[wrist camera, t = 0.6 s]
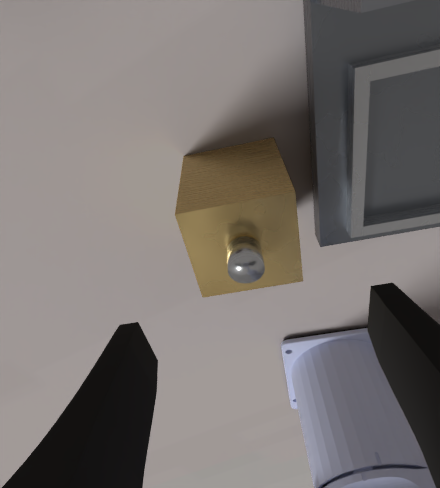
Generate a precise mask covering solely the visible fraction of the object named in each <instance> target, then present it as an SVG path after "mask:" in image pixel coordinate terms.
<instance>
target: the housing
mask: <svg viewBox="0 0 440 488" xmlns="http://www.w3.org/2000/svg"><path fill="white" fill-rule="evenodd" d="M175 216H176V219H177V222H178V225H179V228H180V231H181V234H182V237H183V240H184V243H185V246H186V249H187V252H188V255H189V258H190V261H191V264H192V267H193V270H194V273H195V276H196V279H197V282H198V285H199V288H200V291H201V294H202V297H209V296H215V295H221V294H227V293H233V292H240V291H246V290H252V289H258V288H264V287H270V286H276V285H283V284H289V283H295V282H301V281H303V276H302V264H301V252H300V241H299V229H298V217H297V206H296V194H295V190H294V187H293V185H292V182H291V180H290V177H289V175H288V172H287V170H286V167H285V165H284V162H283V160H282V158H281V155H280V153H279V150H278V148H277V145H276V143H275V140H274V138H269V139H264V140H259V141H255V142H250V143H245V144H240V145H235V146H230V147H226V148H221V149H216V150H211V151H206V152H201V153H197V154H192V155H187V156H184V158H183V164H182V171H181V178H180V185H179V191H178V198H177V205H176V211H175Z"/></svg>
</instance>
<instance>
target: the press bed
mask: <svg viewBox="0 0 440 488" xmlns="http://www.w3.org/2000/svg"><path fill="white" fill-rule="evenodd" d="M303 4H304V24H305V43H306V63H307V82H308V102H309V121H310V141H311V160H312V180H313V199H314V219H315V235H316V237H317V240H318V242H319V245H320V247H323V246H329V245H334V244H340V243H346V242H352V241H358V240H364V239H369V238H375V237H381V236H387V235H393V234H399V233H404V232H410V231H416V230H422V229H428V228H434V227H440V0H303Z"/></svg>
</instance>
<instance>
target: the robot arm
mask: <svg viewBox="0 0 440 488" xmlns="http://www.w3.org/2000/svg"><path fill="white" fill-rule="evenodd" d="M281 349H282V355H283V361H284V367H285V374H286V380H287V386H288V392H289V398H290V404H291V408H293V409H298V411H299V416H300V421H301V426H302V431H303V436H304V441H305V446H306V451H307V456H308V460H309V465H310V470H311V475H312V480H313V485H314V488H440V325H439V324H438V323H437V322H436V321H435V320H434V319H432V318H431V317H430V316H429V315H428V314H427V313H426V312H425V311H423V310H422V309H421V308H420V307H419V306H418V305H417V304H416V303H414V302H413V301H412V300H411V299H410V298H409V297H408V296H407V295H406V294H405V293H404V292H402V291H401V290H400V289H399V288H398V287H397V286H396V285H395V284H393V283H388V284H381V285H375V286H371V291H370V304H369V317H368V328H363V329H356V330H349V331H342V332H335V333H329V334H322V335H315V336H308V337H301V338H294V339H287V340H284V341H283V342H282V343H281ZM157 368H158V360H157V358H156V356H155V354H154V352H153V350H152V348H151V346H150V344H149V343H148V341H147V339H146V337H145V335H144V333H143V331H142V329H141V327H140V325H139V323H138V322H136V323H130V324H123V325H120V326H119V327H118V328H117V330H116V332H115V333H114V335H113V336H112V338H111V340H110V341H109V343H108V344H107V346H106V348H105V349H104V351H103V353H102V354H101V356H100V357H99V359H98V361H97V362H96V364H95V365H94V367H93V369H92V370H91V372H90V373H89V375H88V376H87V378H86V379H85V381H84V382H83V384H82V385H81V387H80V389H79V390H78V392H77V393H76V394H75V396H74V397H73V399H72V400H71V402H70V403H69V404H68V406H67V407H66V409H65V410H64V411H63V413H62V414H61V416H60V417H59V419H58V420H57V421H56V423H55V424H54V425H53V427H52V428H51V429H50V431H49V432H48V433H47V435H46V436H45V437H44V438H43V440H42V441H41V442H40V444H39V445H38V446H37V447H36V449H35V450H34V451H33V452H32V453H31V455H30V456H29V457H28V458H27V460H26V461H25V462H24V463H23V464H22V465H21V467H20V468H19V469H18V470H17V471H16V472H15V474H14V475H13V476H12V477H11V478H10V479H9V480H8V481H7V483H6V484H5V485H4V486H3V487H2V488H142V485H143V476H144V468H145V462H146V455H147V449H148V443H149V437H150V431H151V425H152V418H153V412H154V405H155V399H156V392H157Z"/></svg>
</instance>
